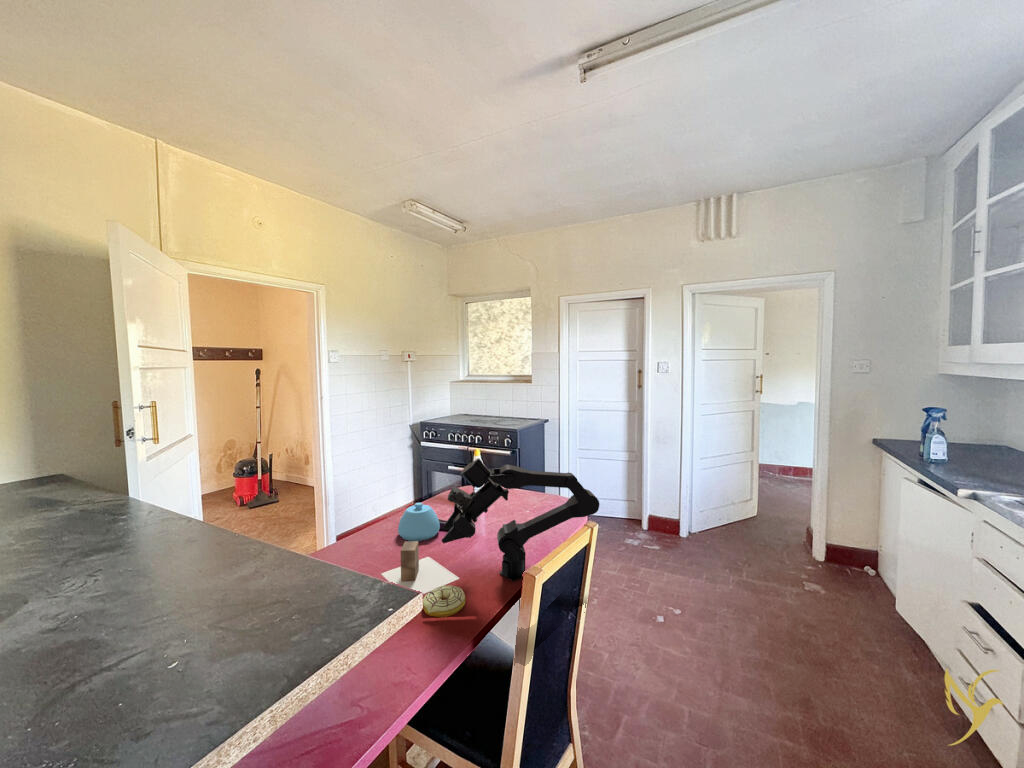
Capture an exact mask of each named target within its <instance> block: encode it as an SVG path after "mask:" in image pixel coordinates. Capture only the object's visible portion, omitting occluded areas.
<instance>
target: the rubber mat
mask: <svg viewBox="0 0 1024 768" xmlns="http://www.w3.org/2000/svg"><path fill="white" fill-rule="evenodd" d="M380 575H381V576H382V577H383V578H385V580H387V581H388V582H389V583H390V582H393V583H395V584H399V585H401V586H404V587H407V588H410V589H413V590H416V591H420V592H422V593H423V595H426V594H427V593H429V592H430V591H432V590H433V589H435V588H437V587H441V586H445V585H448V584H450V583H451V584H452V583H453V582H455V581H457V580H460V579H461V578H460V577H458V576H457V575H456V574H454V573H452V571H450V570H448V569H447V568H446V567H444V566H443V565H441V564H440V563H439V562H437V561H436V560H434V559H433V558H432V557H430V556H426V557H423V558H421V559H420V558H419V572H418V575H417V578H416V581H403V582H401V566H399V567H396V568H392V569H390V570H387V571H385V572H382V573H380Z"/></svg>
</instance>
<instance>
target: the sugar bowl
mask: <svg viewBox="0 0 1024 768" xmlns="http://www.w3.org/2000/svg"><path fill="white" fill-rule="evenodd" d="M434 510H435V509H433V508H432V507H431V506H430V505H429V504H428V505H427V504H424V503H423V502H416V503H414V505H411V506H409V507H407V508H406V510H404V513H402V516H401V518H400V519H399V523H398V528H397V529H398V530H397V533H398V535H399V536H400V537H401V538H402V539H403V540H405V541H407V540H408V541H418V542H423V541H422V540H424V541H427V540H430V539H432V538H434V537H435V536H436V535H437V534H438V533H439V530H440V528H441V526H440V525H441V524H440V520H439V517H438V515H437V514H436V512H435V511H434Z"/></svg>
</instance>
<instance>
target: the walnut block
mask: <svg viewBox="0 0 1024 768" xmlns="http://www.w3.org/2000/svg"><path fill="white" fill-rule="evenodd" d="M419 552H420V551H419V541H407V540H405V541H404V542H403V545H402V547H401V548H400V567H401V582H403V581H416V578H417V575H418V572H419V560H420V556H419V554H420V553H419Z"/></svg>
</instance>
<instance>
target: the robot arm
mask: <svg viewBox="0 0 1024 768" xmlns="http://www.w3.org/2000/svg"><path fill="white" fill-rule="evenodd" d="M460 475H462V477H463V478H464V479H465V480H466V481H467V482H468V483H469V485H471V487H472V488H477V489H478V490H477V491H476V492H475V491H471V492H470V493H468V492H467V491H464V490H462V489H461V488H458V487H457V486H452V487H451V489H450V491H449V493H448V495H447V500H448V501H449V502H451V503H454V505H453V509H454V510H453V512H452V513H451V515H450V516H449V518H448V520H446V522H445V524H444V525H443V526H442V529H443V530H444V531H447V530H448V531H447V533H446V534H445V535H444V536H443V538H442V539H441V542H442V544H447V543H449V542H450V543H451V542H453V541H457V540H461V539H465V538H466V539H468V538H469V539H471V538H472V537H473V536H474V535H476V523H477V522H478V518H479V517H480V516H481V515H482V514H483V513H485V514H486V513H487V512H488V511H489V508H490V507H491V506H492V505H494V503H495V502H496V501H498V500H499V499H500V498H501V497H502V498H503V499H504V501H506V502H507V501H508V500H509V493H510V491H509V490H514V489H521V488H525V487H530V486H533V487H545V488H547V487H548V488H561V489H563V488H564V489H569V491H570V492H571V493H572V495H571V496H570V497H569V498H568V500H567V501H566V502H564V503H562V504H561V505H558V506H556V507H554V508H553V509H550V510H548V511H546V512H544V513H542V514H540V515H537V516H535V517H534V518H531V519H529V520H527V521H525V522H523V523H517V522H516V520H515V519H513V520H511V521H509V522H508V523H504V524H502V527H501V528H499V530H498V531H497V535H496V538H497V546H498V548H499V551H500V552H501V553H503V554H502V561H501V570H500V571H499V575H501V576H503V577H504V578H506V579H508V580H509V581H511V582H516V581H519V580H520V579H523V578H522V574H523V572H524V571H525V570H526V550H525V547H524V545H525V544H526V543H527V542H528V541H529V540H530V539H531V538H533V537H536V536H537V535H540V534H542V533H544V532H547V531H548V530H550V529H552V528H554V527H556V526H557V525H560V524H563V523H565V522H566V521H569V520H571V519H575V518H586V517H589V516H593V515H594V514H596V513H597V512H598V511H599V510H600V509H599V508H600V500H599V499H598V497H597V496H596V495H595V494H594V493H593V492H592V491H591V490H589V489H586V488H585V487H583V485H582V484H581V483H580V481H579V480H578V478H577V476H576V475H574V473H571V472H558V471H557V472H553V471H542V470H541V471H540V470H529V469H526V468H522V467H520V466H516V465H513V464H512V465H511V464H504V465H502V467H499V468H497V467H496V468H488V467H487V466H486V465H485V464H484V463H483V461H482V460H481V458H480V457H478V458H477V459H475V460H473V461H471V462H470V463H468V464H467V465H466V466H465V467H464V468H462V470H461V472H460Z"/></svg>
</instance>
